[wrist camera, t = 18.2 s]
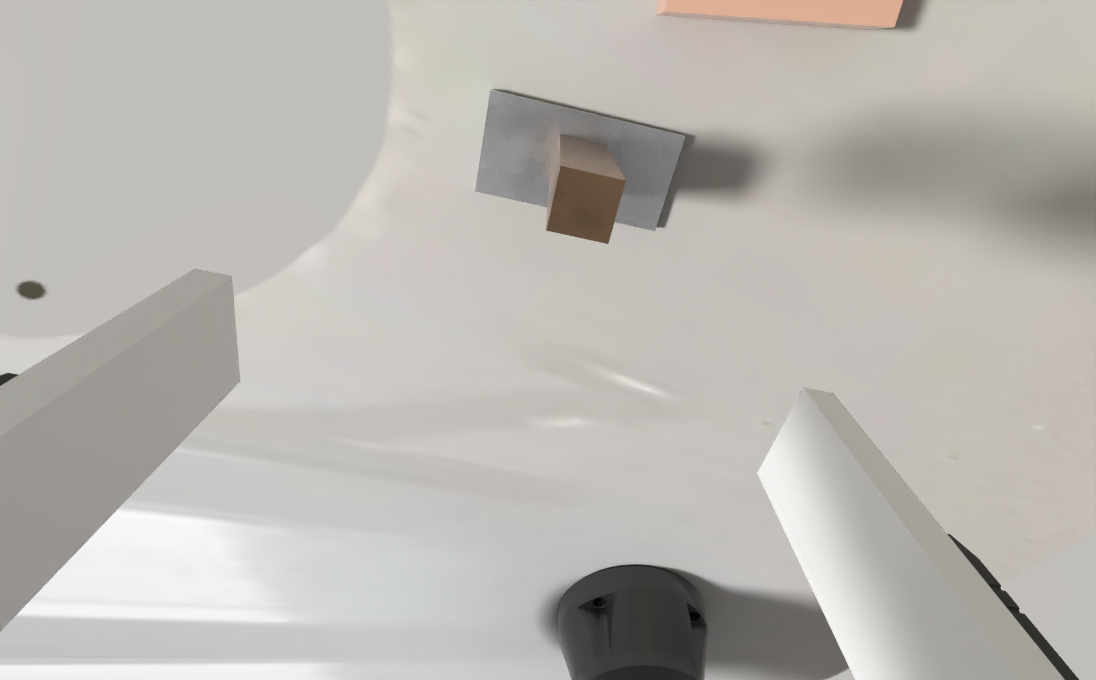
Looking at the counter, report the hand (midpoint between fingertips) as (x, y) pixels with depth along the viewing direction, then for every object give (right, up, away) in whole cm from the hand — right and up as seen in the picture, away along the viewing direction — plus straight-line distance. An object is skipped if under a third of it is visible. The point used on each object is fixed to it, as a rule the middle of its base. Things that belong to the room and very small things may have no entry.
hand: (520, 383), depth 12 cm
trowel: (+3, +12, +22) cm, 25 cm away
